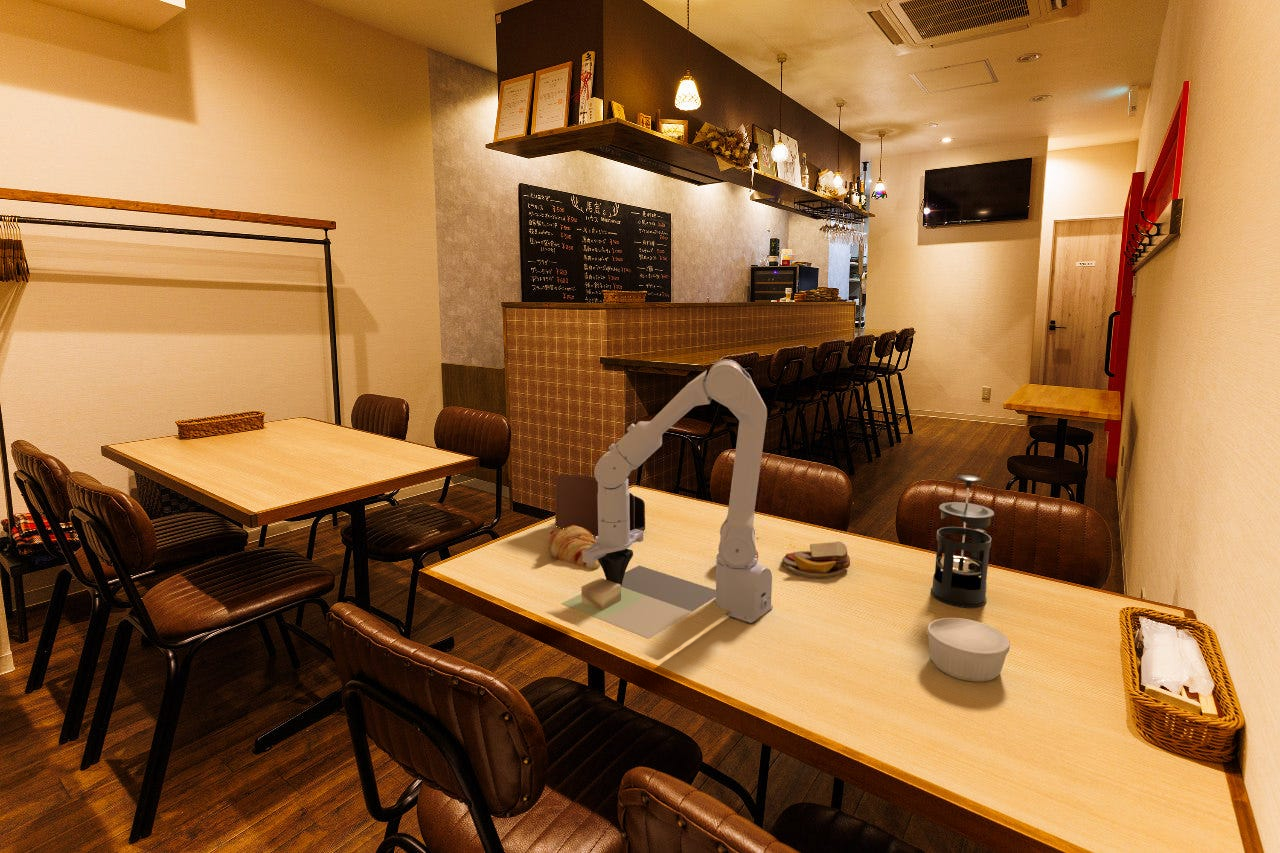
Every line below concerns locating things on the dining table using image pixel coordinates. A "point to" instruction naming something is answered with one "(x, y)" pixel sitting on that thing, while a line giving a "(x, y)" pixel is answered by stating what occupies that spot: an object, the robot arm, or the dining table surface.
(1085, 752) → the dining table surface
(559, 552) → the croissant
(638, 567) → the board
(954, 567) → the french press
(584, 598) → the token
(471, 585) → the dining table surface
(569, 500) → the letter holder
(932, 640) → the ramekin
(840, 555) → the toy sandwich meal
